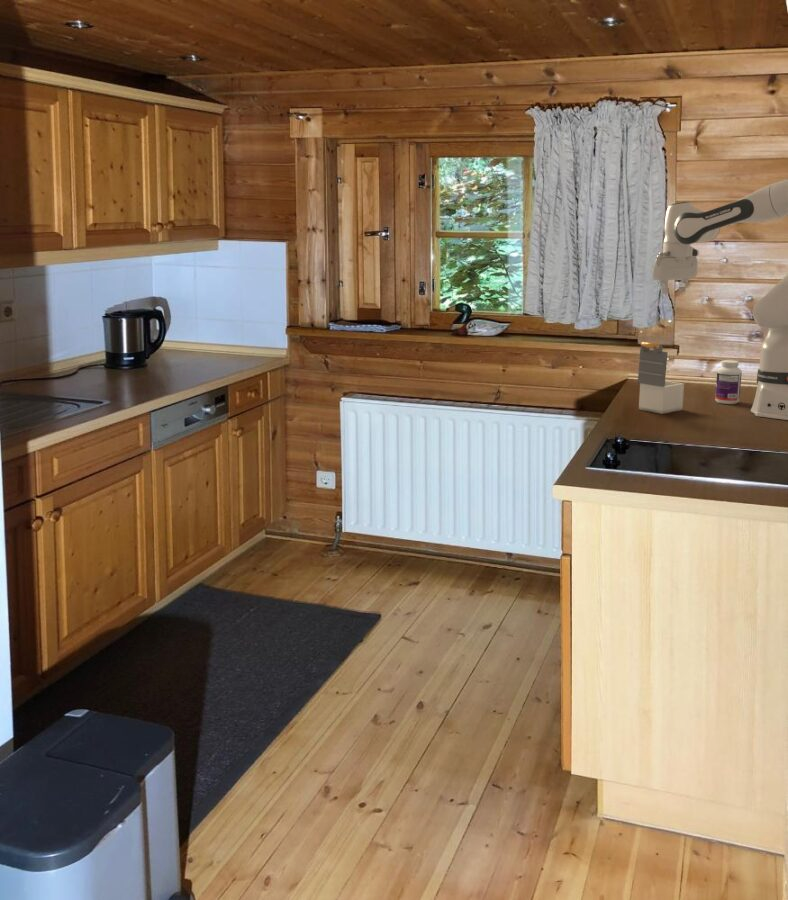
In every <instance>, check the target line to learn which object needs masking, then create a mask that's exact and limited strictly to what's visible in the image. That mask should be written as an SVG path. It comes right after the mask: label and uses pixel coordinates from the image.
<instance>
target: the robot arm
mask: <svg viewBox="0 0 788 900" xmlns="http://www.w3.org/2000/svg"><path fill="white" fill-rule="evenodd" d="M785 217H788V178H787V179H782V180H780V181H776V182H774V183H771V184H768V185H765V186H763V187H761V188H759V189H757V190H755V191H753V192H751V193H749V194H747V195H745V196H743V197H741V198H739V199H738V200H735V201H732V202H730V203H726V204H724V205H722V206H719V207H717V208H713V209H710V210H707V211H704V210H701V209H699V208H698V207H696V206H694V205H693V204H692V203H691V202H689V201H682V202H681V201H680V202H675V203H672V204H670V205H669V206H668V207H667V209H666V212H665V217H664V218H665V219H664V229H663V231H664V239H663V244H662V245H663V246H662V251H661V252H659V253H658V254H657V256H656V259H655V261H654V264H653V265H654V266H653V272H652V278H653V280H654V281H659V284H660V287H661V293H662V294H663V295H664V294H669V293H670V288H669V287H668V282H669V281H672V280H673V281H674V280H680V282H681V284H680V285H679V286H678V292H679V293H685V292H686V290H687V289H686V288H687V286H688V284H689V280H690V279H695V278H696V276H697V274H698V262H699V261H698V258H697V257H699V253H700V251H699V250H698V249H697V248H695V247H693V246H691V245H692V244H698V243H699V244H701V243H707V242H711V241H713V240H715V239H716V238H717V237H718V235H719V234H720V230H721V228H723V227H726V226H727V227H728V226H730V225H734V224H741V223H743V224H745V223H747V224H748V223H766V222H767V223H768V222H771V221H772V222H773V221H775V220H780V219H783V218H785ZM751 313H752V318H753V320H754V322H755V323H756V324H757V325H758V326H760V327H761V328H765V329H768V331H767V334H766V337H765V339H764V340H763V341H762V344H761V347H760V357H759V366H758V367H759V368H758V369H757V373H756V374H757V375H756V393H755V396H754V400H753V403H752V406H751V409H750V412H751V413H753V414H754V415H755V416H756V417H760V418H761V417H763V418H769V419H776V420H778V419H779V420H785V421H788V273H787V274H786V275H785V276H784V277H783V278H782V279H780V281H778V282H777V284H775V285H774V286H773V287H772V288H771V289H770V290H769V291H768V292H767V293H766V294H765V295H764V296H763V297H761V298H760V299H758V300H757V301H756V302H755V303H754V305H753V308H752V312H751Z"/></svg>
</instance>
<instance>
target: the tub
mask: <svg viewBox="0 0 788 900" xmlns="http://www.w3.org/2000/svg"><path fill="white" fill-rule="evenodd" d="M684 390H685V383H681V382H678V381H677V382H676V381H669V380H665V387H659V386H653V385H647V384H641V383H639V398H638V410H640V411H645V412H649V413H655V414H660V415H663V414H669V413H672V412H678V411H682V410H683V408H684V407H683V406H684V405H683V404H684Z"/></svg>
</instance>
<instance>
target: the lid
mask: <svg viewBox="0 0 788 900" xmlns="http://www.w3.org/2000/svg"><path fill="white" fill-rule="evenodd" d="M638 360H639V361H638V362H639V363H638V372H637V373H638V376H637V384H640V383H641V384H647V385H653V386H659V387H665V381H666V373H667V365H668V364H667V363H668V362H667V361H668V351H663V345H660V344H659V343H655V342H647V341H641V343H640V348H639V359H638Z"/></svg>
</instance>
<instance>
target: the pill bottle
mask: <svg viewBox="0 0 788 900" xmlns="http://www.w3.org/2000/svg"><path fill="white" fill-rule="evenodd" d="M741 386H742V370H741V368H740V367H739V360H734V359H732V360H731V359H724V360H721V366H720V367H718V369H717V371H716V382H715V393H714V394H715V396H714V397H715V399H714V400H715V402H716V403H718V404H720V405H721V404H722V405H735V404H738V403H739V402H740V400H741V399H740V397H741Z"/></svg>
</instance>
